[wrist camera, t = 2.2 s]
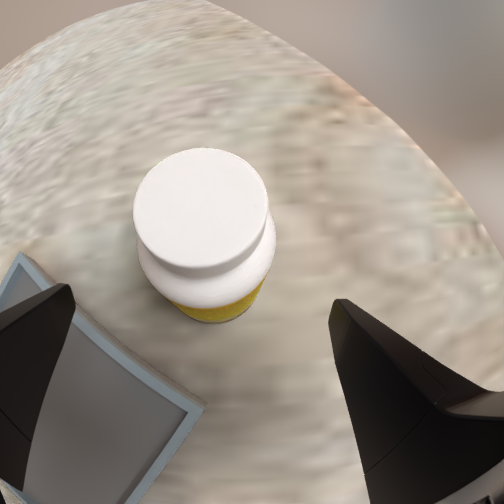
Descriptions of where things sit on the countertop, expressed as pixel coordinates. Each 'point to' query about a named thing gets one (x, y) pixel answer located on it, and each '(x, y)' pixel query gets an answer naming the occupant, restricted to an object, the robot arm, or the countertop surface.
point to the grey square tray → (98, 412)
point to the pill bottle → (205, 232)
